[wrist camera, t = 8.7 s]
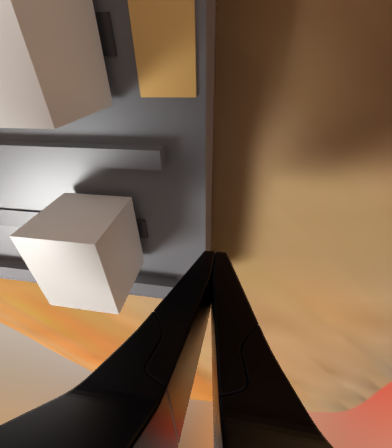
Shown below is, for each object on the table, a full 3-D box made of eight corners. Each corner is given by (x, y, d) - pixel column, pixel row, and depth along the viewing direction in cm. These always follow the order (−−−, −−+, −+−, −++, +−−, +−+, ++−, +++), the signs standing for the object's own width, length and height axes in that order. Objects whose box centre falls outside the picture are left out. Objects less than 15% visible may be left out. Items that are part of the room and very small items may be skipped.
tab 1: (80, -61, 6) (-39, -141, 3) (113, 105, 8) (54, 129, 5) (-27, -51, 6) (-201, -115, 4) (31, 104, 8) (-56, 126, 6)
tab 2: (131, 196, 10) (94, 244, 7) (144, 261, 12) (118, 314, 10) (64, 192, 10) (9, 236, 8) (88, 255, 12) (50, 304, 10)
